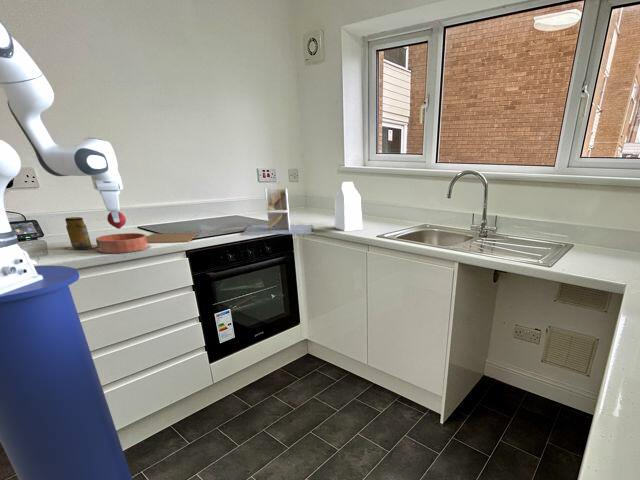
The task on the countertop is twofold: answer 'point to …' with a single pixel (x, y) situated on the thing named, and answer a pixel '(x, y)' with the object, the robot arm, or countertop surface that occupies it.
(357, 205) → the milk
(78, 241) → the condiment
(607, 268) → the countertop surface
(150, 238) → the mat
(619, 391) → the countertop surface
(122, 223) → the onion
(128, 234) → the bowl
